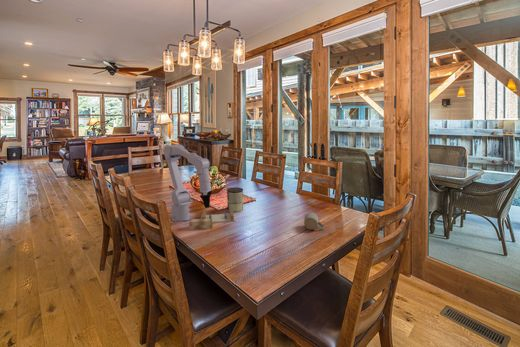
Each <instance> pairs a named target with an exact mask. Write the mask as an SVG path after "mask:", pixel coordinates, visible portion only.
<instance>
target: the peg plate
mask: <svg viewBox="0 0 520 347" xmlns="http://www.w3.org/2000/svg"><path fill="white" fill-rule="evenodd" d="M235 214H236V213H233V210H230V212H229V213H226V212H225V213H223V214H221V213H220V214H212V213H209V214H207V211H206V210H203V211H202V215H201V216H200V219H212V222H213V223H229V222H233V223H234V222H236V221H237V220H236V215H235Z"/></svg>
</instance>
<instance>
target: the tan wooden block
mask: <svg viewBox="0 0 520 347" xmlns="http://www.w3.org/2000/svg"><path fill="white" fill-rule="evenodd" d="M188 221H189V222H188V224H189V230H190V229H196V230H210V229H211V230H213V222H212V219H201V218H195V219H193V218H192V219H189V220H188Z"/></svg>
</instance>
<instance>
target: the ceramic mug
mask: <svg viewBox="0 0 520 347" xmlns="http://www.w3.org/2000/svg"><path fill="white" fill-rule="evenodd" d="M303 224H304V225H303V226H304V227H305V228H306V229H307V230H309V231H312V230H316V229H318V230H321V231H322V230H324V228H325V226H324V224H323V223H322V222H320V221H319V216H318V215H317V214H316V213H315V212H312V211H311V212H308V213H306V214H305V216H304V221H303Z"/></svg>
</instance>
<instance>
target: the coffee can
mask: <svg viewBox="0 0 520 347" xmlns="http://www.w3.org/2000/svg"><path fill="white" fill-rule="evenodd" d="M226 193H227V194H226V199H227V200H226V201H227V212H229V213H230V210H233V214H237V213H242V212H243V211H244V189H243V188H242V187H238V186H237V187H229V188H227V189H226Z"/></svg>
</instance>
